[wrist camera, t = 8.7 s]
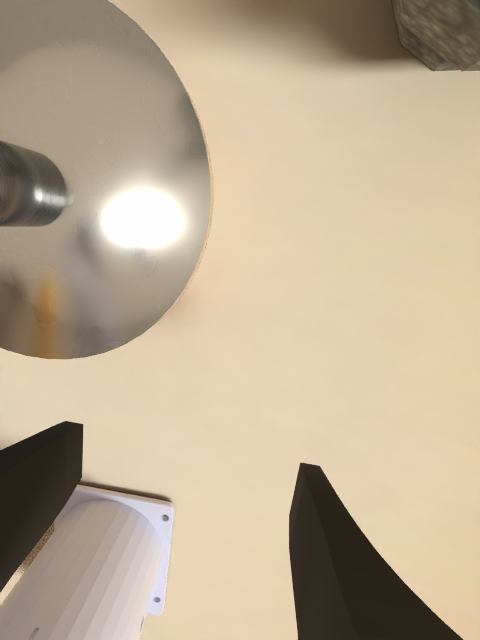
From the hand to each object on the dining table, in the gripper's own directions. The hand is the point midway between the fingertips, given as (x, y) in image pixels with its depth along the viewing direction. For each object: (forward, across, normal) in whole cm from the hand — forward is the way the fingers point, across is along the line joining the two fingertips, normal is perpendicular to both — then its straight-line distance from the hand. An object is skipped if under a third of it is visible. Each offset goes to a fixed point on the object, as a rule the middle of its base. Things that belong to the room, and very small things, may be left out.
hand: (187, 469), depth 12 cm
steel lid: (+5, +8, -8) cm, 12 cm away
